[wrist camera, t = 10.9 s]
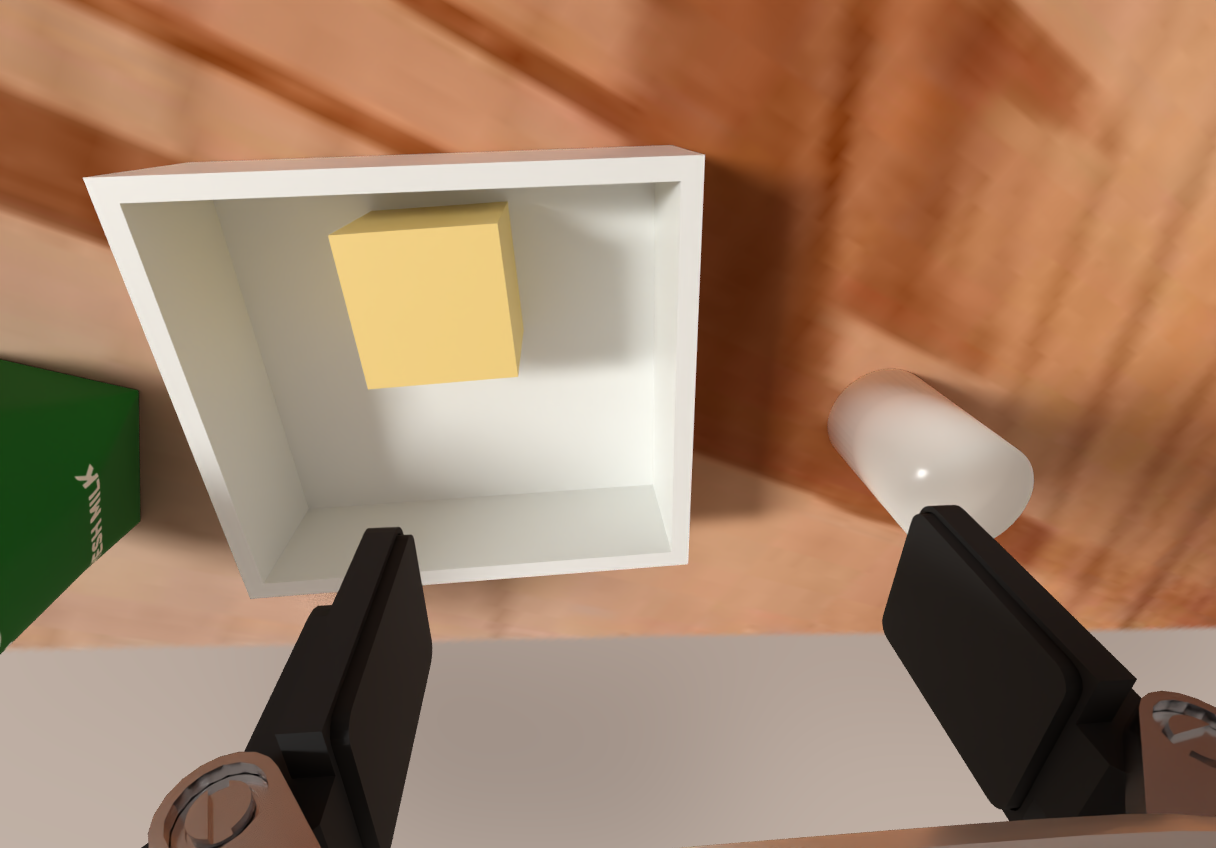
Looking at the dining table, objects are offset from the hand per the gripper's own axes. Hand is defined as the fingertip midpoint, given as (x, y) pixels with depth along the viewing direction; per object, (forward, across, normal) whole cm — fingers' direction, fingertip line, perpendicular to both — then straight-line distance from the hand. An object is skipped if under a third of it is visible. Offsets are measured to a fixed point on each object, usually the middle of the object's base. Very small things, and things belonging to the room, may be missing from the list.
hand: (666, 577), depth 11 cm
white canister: (+16, -13, +5) cm, 22 cm away
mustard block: (+16, +6, -2) cm, 17 cm away
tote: (+16, +6, +2) cm, 17 cm away
